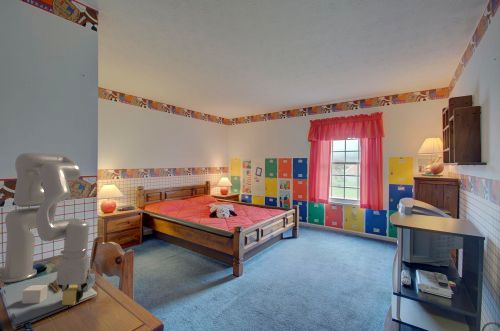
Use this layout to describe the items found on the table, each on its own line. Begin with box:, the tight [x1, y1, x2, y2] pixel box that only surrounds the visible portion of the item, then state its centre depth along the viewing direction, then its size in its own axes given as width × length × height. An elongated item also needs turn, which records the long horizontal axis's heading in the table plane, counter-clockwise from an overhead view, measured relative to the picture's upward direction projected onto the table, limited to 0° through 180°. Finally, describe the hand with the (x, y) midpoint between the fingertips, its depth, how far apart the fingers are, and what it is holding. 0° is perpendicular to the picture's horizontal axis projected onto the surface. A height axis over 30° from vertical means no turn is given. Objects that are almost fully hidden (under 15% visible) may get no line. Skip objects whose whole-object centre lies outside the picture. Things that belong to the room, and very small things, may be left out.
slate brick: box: [83, 273, 96, 292], centre depth 103 cm, size 6×4×5 cm, turn 9°
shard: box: [48, 280, 62, 293], centre depth 103 cm, size 11×8×2 cm
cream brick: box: [21, 284, 49, 304], centre depth 92 cm, size 6×4×5 cm, turn 99°
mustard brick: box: [61, 285, 78, 306], centre depth 93 cm, size 6×4×5 cm, turn 9°
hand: (72, 299), depth 93 cm, fingers closed on mustard brick, 3 cm apart
